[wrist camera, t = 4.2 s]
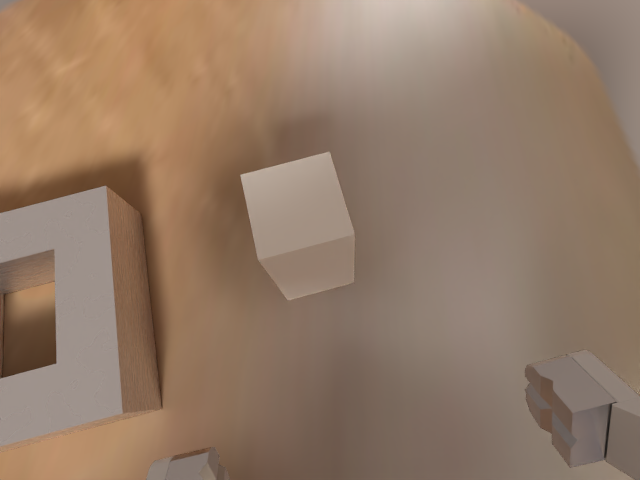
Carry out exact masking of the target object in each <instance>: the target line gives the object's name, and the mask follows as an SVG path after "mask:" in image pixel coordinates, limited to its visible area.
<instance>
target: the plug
mask: <svg viewBox="0 0 640 480" xmlns="http://www.w3.org/2000/svg"><path fill="white" fill-rule="evenodd" d="M240 176H241V181H242V185H243V190H244V195H245V200H246V205H247V209H248V214H249V219H250V224H251V229H252V233H253V238H254V243H255V248H256V253H257V257H258V261H259V262H260V263H261V265H262V266H263V267H264V269H265V270H266V272H267V273H268V274H269V276H270V277H271V278H272V280H273V281H274V282H275V284H276V285H277V286H278V288H279V289H280V290H281V292H282V293H283V295H284V296H285V297H286V299H287V300H292V299H296V298H300V297H303V296H307V295H311V294H315V293H318V292H322V291H326V290H330V289H333V288H337V287H341V286H344V285H348V284H352V283H354V266H355V232H354V229H353V226H352V223H351V219H350V216H349V213H348V210H347V206H346V203H345V200H344V197H343V193H342V190H341V187H340V184H339V180H338V177H337V174H336V171H335V167H334V164H333V161H332V157H331V154H330V151H329V152H326V153H322V154H318V155H314V156H310V157H307V158H303V159H299V160H295V161H291V162H287V163H284V164H280V165H276V166H272V167H268V168H264V169H261V170H257V171H253V172H249V173H245V174H242V175H240Z"/></svg>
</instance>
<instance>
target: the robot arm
mask: <svg viewBox="0 0 640 480" xmlns="http://www.w3.org/2000/svg"><path fill="white" fill-rule="evenodd" d="M525 377H526V378H527V380H528V381H529V382H530V384H529V385H528V387H527V388H526V389H525V392H526V401H527V404H528V407H529V410H530V412H531V414H532V416H533V418H534V419H535V421H536V422H537V424H538V425H539V426H540V428H542V429H544V430H546V431H548V432H550V433H552V444H553V445H554V447H555V448H556V449H557V451H558V452H559V453H560V455H561V456H562V458H563V459H564V460H565V462H566V463H567V464H568V466H569V467H570V468H571V467H575V466H579V465H584V464H588V463H593V462H597V461H601V460H606V462H608V463H609V464H611V465H612V466H614V467H616V468H617V469H619V470H620V471H622V472H624V473H625V474H627V475H629V476H630V477H632V478H633V479H635V480H640V396H639V395H638V394H637V393H636V392H635V391H634V390H633V389H632V388H630V387H629V386H628V385H627V384H626V383H625V382H624V381H623V380H621V379H620V378H619V377H618V376H617V375H616V374H615V373H614V372H613V371H611V370H610V369H609V368H608V367H607V366H606V365H605V364H604V363H602V362H601V361H600V360H599V359H598V358H597V357H596V356H595V355H594V354H592V353H591V352H590V351H587V350H582V351H578V352H574V353H570V354H567V355H562V356H558V357H555V358H551V359H547V360H544V361H540V362H536V363H533V364H529V365H527V366H526V368H525ZM146 480H230V478H229V475H228V472H227V470H226V468H225V467H223V466H221V465H219V454H218V452H217V450H216V449H215V447H210V448H206V449H202V450H197V451H193V452H189V453H184V454H180V455H176V456H172V457H168V458H164V459H160V460H156V461H154V462H153V464H152V465H151V466H150V468H149V472H148V475H147V478H146Z"/></svg>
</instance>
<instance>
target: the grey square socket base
mask: <svg viewBox="0 0 640 480" xmlns="http://www.w3.org/2000/svg"><path fill="white" fill-rule="evenodd" d="M53 281H55V308H56V361H57V364H53V365H49V366H45V367H42V368H38V369H34V370H30V371H27V372H23V373H19V374H16V375H12V376H8V377H4V378H2V360H3V323H4V294H8V293H12V292H15V291H19V290H23V289H27V288H30V287H34V286H38V285H42V284H46V283H49V282H53ZM159 409H162V407H161V397H160V387H159V378H158V368H157V359H156V349H155V340H154V330H153V320H152V311H151V301H150V292H149V282H148V273H147V263H146V254H145V244H144V234H143V225H142V215H141V214H140V213H139V212H138V211H137V210H135V209H134V208H133V207H132V206H131V205H129V204H128V203H127V202H126V201H124V200H123V199H122V198H121V197H120V196H118V195H117V194H116V193H115V192H113V191H112V190H111V189H110V188H109V187H107V186H103V187H99V188H95V189H91V190H87V191H83V192H80V193H76V194H72V195H68V196H64V197H60V198H57V199H53V200H49V201H45V202H41V203H38V204H34V205H30V206H26V207H22V208H18V209H15V210H11V211H7V212H3V213H0V453H1V452H4V451H8V450H12V449H15V448H19V447H23V446H26V445H30V444H34V443H37V442H41V441H45V440H49V439H52V438H56V437H60V436H63V435H67V434H71V433H74V432H78V431H82V430H85V429H89V428H93V427H97V426H100V425H104V424H108V423H111V422H115V421H119V420H122V419H126V418H130V417H133V416H137V415H141V414H145V413H148V412H152V411H156V410H159Z"/></svg>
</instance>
